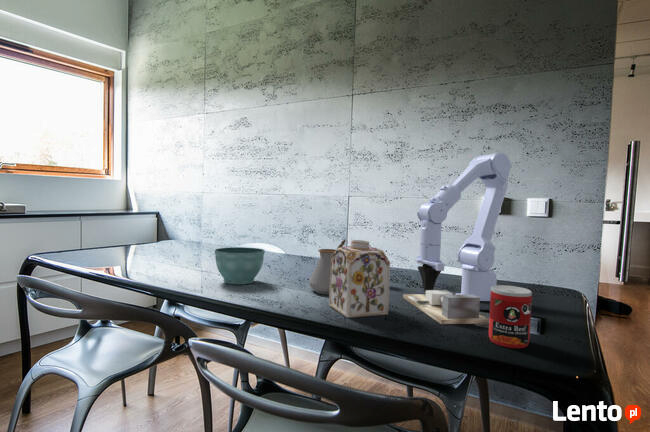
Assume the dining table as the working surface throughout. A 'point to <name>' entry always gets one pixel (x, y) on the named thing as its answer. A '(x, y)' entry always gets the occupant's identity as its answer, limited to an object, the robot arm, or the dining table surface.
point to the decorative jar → (359, 280)
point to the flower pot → (239, 264)
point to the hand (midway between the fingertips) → (428, 291)
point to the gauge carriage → (435, 296)
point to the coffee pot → (323, 271)
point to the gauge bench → (438, 312)
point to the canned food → (510, 316)
